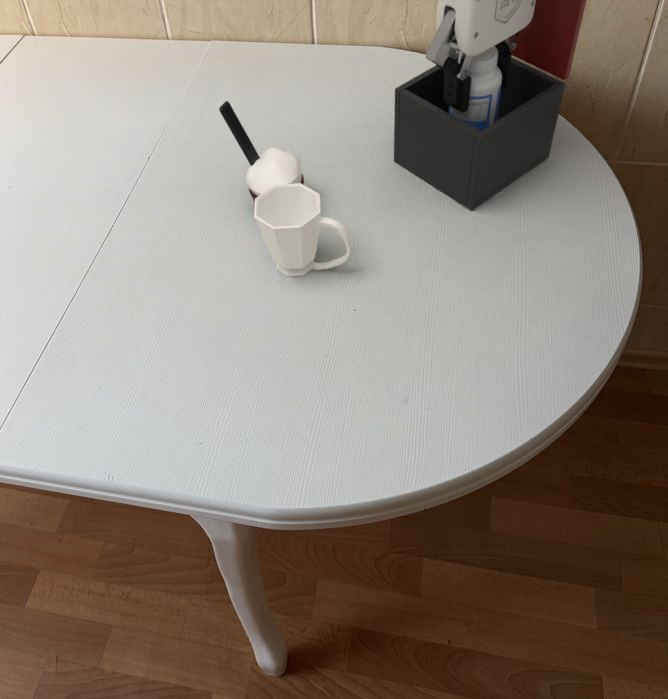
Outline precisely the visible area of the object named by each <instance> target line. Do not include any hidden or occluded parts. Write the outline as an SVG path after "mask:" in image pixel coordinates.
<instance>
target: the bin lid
mask: <svg viewBox="0 0 668 699" xmlns="http://www.w3.org/2000/svg"><path fill="white" fill-rule="evenodd" d="M586 4H587V0H536V2H535V8H534V14H533V18H532V20H531V21H530V23H529V24H528V25H527V26H526V27H525V28H523V29H522V30H521V31H520V32H519V34H518V36H517V46H516V48H515V49H514V50H513V51H512V52H510V53H512V56H513V57H515V58H516V59H518V60H520V61H523V62H525V63H526V64H529V65H531V66H532V67H534V68H536V69H537V68H538V69H539V70H541V71H544V72H545V73H547V74H550V75H552V76H554V77H556V78H557V79H558V78H559V80H563V81H566V80H567V79H569V78H570V74H571V70H572V65H573V62H574V56H575V53H576V49H577V43H578V39H579V36H580V31H581V26H582V22H583V18H584V13H585V9H586ZM512 56H511V57H512Z"/></svg>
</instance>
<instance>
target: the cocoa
mask: <svg viewBox="0 0 668 699" xmlns="http://www.w3.org/2000/svg"><path fill="white" fill-rule="evenodd" d="M218 111H219V113H220V114H221V116H222V118H223V120H224V122H225V123H226V125H227V127H228V128H229V130H230V132H231V134H232V135H233V137H234V140H235V141H236V142H237V144H238V146H239V147H240V150H241V152H242V153H243V155H244V157H245V158H246V160H247V161H248V164H249V166H248V169H247V172H246V177H245V183H246V185H247V188H248V191H249V194H250V196H251V198H252V200H253V202H255V198H257V197H258V196H260V195H261V194H262V193H264V192H265V191H267V190H268V189H269V188H271V187H272V186H274V185H282V184H296V183H301V184H303V185H305V178H304V174H303V172H302V167H301V161H300V158H299V157H296V156H295V155H294V154H293V153H291V152H290V151H286V150H281V149H279V148H277V147H274V146H272V147H269V148H266V149H265V151H264V152H263V153H262V154H261V155H259V153H258V152H257V149H256V148H255V146H254V144H253V143H252V140H251V139H250V137H249V134H247V132H246V130H245V128H244V126H243V125H242V123H241V121H240V119H239V118H238V116H237V114H236V112H235V110H234V108H233V107H232V105H231V103H230V101H227V100H226V101H224V102H223V103H222V104H221V106H219V109H218Z"/></svg>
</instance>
